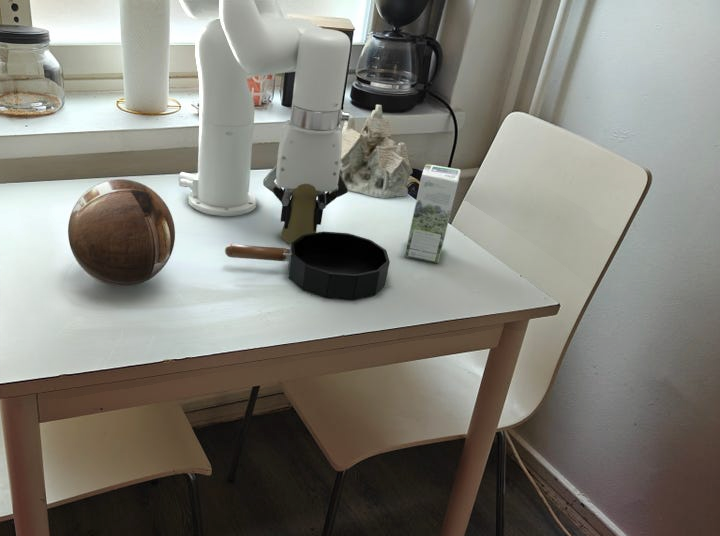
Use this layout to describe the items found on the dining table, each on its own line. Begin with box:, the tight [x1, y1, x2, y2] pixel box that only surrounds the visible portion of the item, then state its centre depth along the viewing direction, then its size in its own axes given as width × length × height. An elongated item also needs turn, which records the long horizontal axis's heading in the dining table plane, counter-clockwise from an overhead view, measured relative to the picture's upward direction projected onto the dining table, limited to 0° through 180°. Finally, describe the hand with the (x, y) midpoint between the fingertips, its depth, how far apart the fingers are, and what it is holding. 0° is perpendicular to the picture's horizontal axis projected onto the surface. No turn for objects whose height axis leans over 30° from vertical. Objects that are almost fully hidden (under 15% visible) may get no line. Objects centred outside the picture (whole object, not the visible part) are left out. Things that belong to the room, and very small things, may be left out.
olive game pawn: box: [280, 184, 319, 245], centre depth 119 cm, size 6×6×11 cm
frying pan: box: [224, 231, 391, 301], centre depth 110 cm, size 25×15×4 cm, turn 88°
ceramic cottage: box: [337, 104, 413, 199], centre depth 142 cm, size 16×16×15 cm
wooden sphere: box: [67, 178, 176, 287], centre depth 101 cm, size 15×15×15 cm
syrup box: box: [404, 163, 462, 264], centre depth 116 cm, size 6×6×14 cm
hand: (300, 225), depth 120 cm, fingers closed on olive game pawn, 4 cm apart
